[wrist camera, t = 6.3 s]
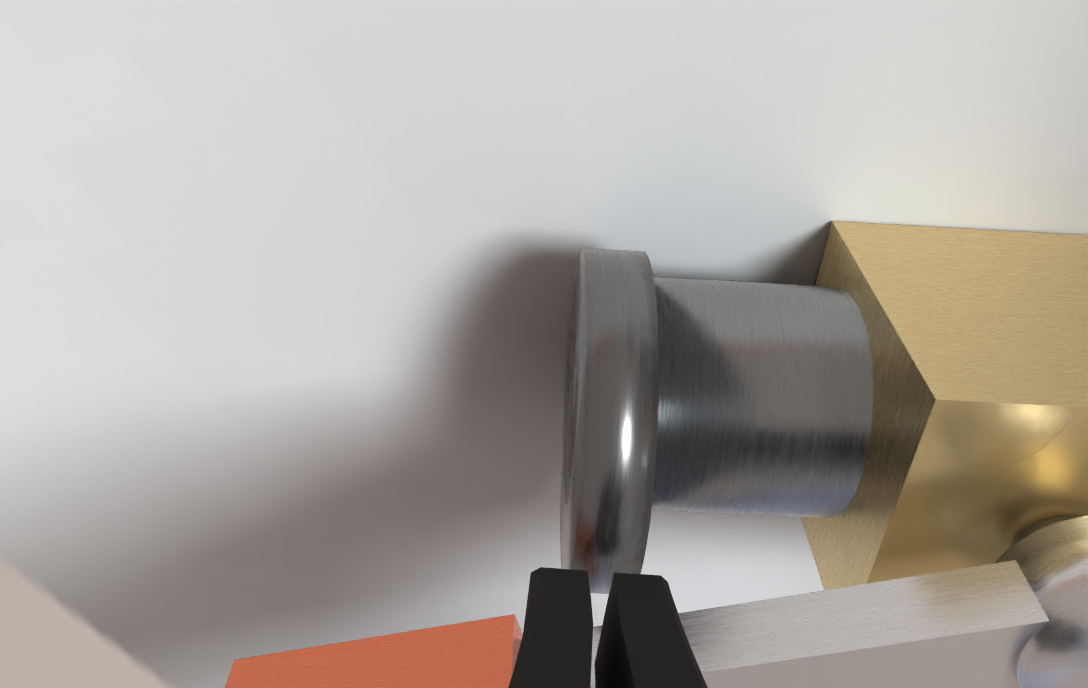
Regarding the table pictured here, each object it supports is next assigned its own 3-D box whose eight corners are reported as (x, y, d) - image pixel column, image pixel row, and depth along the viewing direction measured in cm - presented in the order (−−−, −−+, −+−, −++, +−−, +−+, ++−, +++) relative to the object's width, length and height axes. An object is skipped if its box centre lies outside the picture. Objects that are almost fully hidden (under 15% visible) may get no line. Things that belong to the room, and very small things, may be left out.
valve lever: (1190, 498, 12) (1261, 582, 10) (1165, 626, 13) (1225, 713, 12) (231, 655, 14) (201, 741, 12) (300, 752, 15) (278, 836, 14)
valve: (559, 438, 19) (561, 668, 14) (581, 191, 16) (592, 381, 11) (1214, 470, 19) (1427, 704, 14) (1363, 235, 16) (1694, 437, 11)
